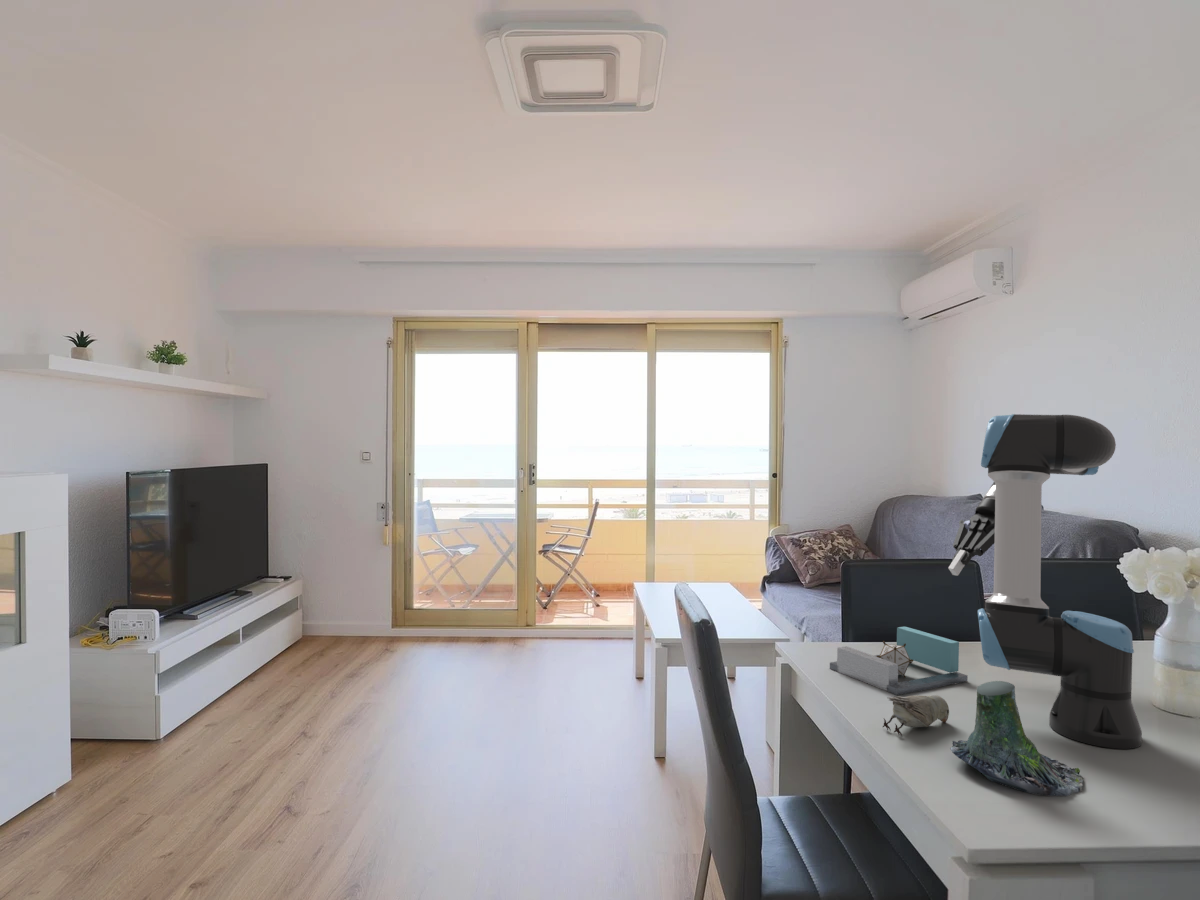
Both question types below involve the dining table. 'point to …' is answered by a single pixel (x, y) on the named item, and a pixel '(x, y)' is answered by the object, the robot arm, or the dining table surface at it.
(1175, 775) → the dining table surface
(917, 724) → the decorative bird
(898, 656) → the game die
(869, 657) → the vise base
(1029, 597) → the robot arm
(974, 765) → the tree stump
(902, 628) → the sliding jaw
